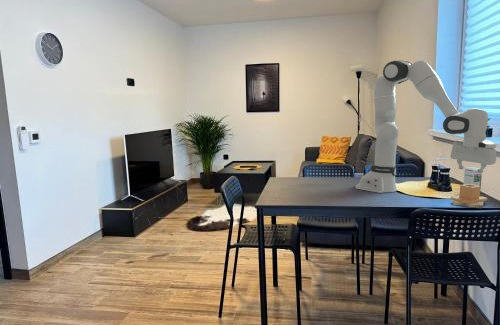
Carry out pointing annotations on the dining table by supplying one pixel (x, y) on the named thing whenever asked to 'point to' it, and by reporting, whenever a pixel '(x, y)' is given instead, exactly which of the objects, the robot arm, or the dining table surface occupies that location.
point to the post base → (477, 205)
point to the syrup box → (472, 176)
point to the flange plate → (469, 194)
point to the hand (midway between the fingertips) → (470, 170)
